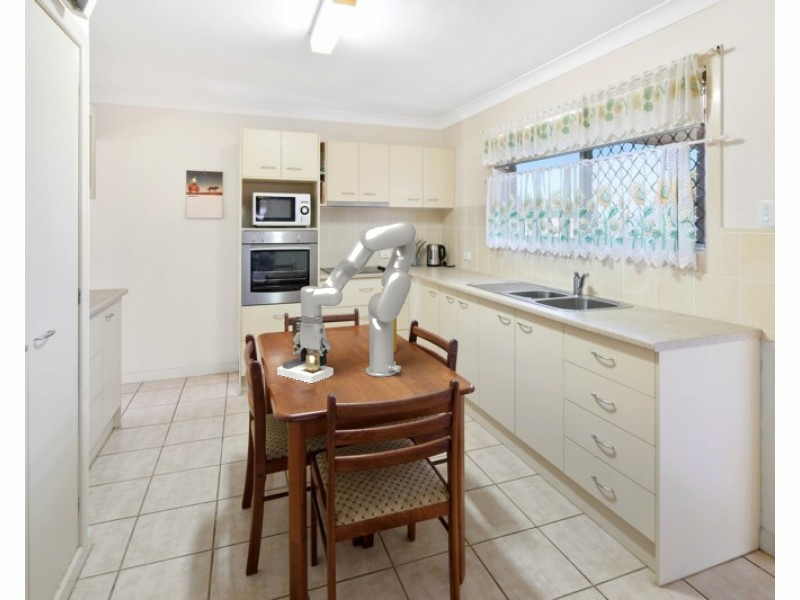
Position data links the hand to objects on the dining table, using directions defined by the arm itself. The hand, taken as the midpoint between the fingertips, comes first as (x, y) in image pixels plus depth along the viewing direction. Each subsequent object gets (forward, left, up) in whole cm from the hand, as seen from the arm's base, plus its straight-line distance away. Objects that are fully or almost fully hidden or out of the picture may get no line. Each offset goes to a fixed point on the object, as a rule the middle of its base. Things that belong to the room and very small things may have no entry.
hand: (313, 363), depth 183 cm
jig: (+4, 0, -6) cm, 7 cm away
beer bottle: (-3, -45, -6) cm, 45 cm away
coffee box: (+25, -21, -6) cm, 33 cm away
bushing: (0, 0, -6) cm, 6 cm away
